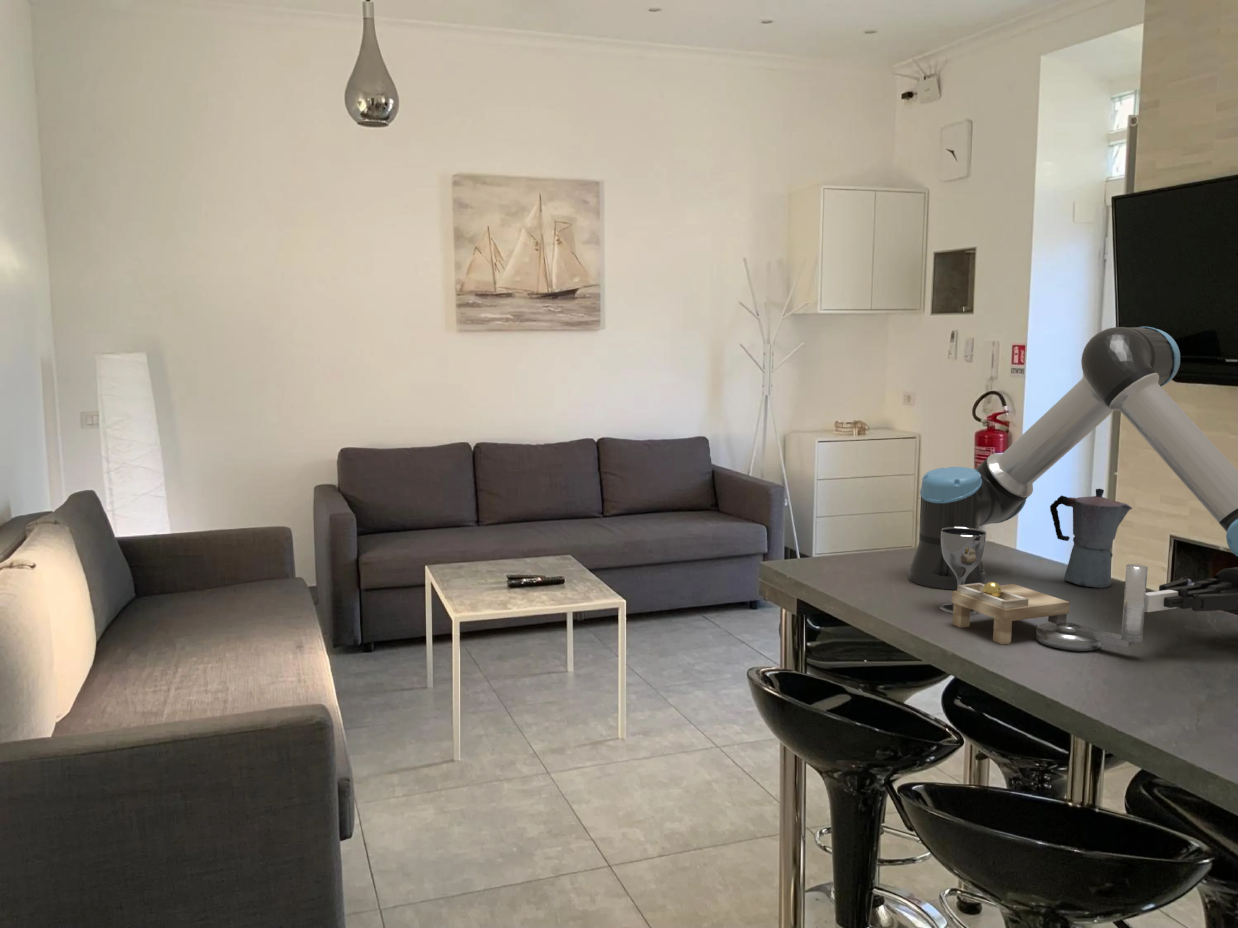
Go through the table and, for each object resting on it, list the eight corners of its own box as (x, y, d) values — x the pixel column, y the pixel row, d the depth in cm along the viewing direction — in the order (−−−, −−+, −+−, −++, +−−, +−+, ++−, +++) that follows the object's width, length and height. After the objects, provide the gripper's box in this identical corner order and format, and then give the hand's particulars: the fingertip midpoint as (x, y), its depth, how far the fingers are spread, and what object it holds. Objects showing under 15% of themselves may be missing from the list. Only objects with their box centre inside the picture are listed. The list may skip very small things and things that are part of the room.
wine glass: (944, 601, 192) (948, 525, 190) (987, 607, 187) (991, 530, 185) (931, 610, 185) (935, 532, 183) (975, 617, 181) (979, 537, 179)
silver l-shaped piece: (1025, 640, 167) (1030, 555, 165) (1052, 628, 173) (1057, 546, 171) (1127, 664, 154) (1134, 573, 153) (1152, 651, 161) (1159, 563, 159)
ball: (978, 597, 172) (979, 580, 172) (992, 595, 173) (993, 579, 173) (991, 601, 169) (992, 584, 169) (1004, 600, 170) (1005, 583, 170)
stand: (950, 623, 177) (952, 584, 176) (1011, 615, 182) (1014, 577, 181) (1003, 645, 165) (1006, 602, 164) (1067, 635, 170) (1070, 594, 169)
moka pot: (1132, 591, 200) (1140, 493, 197) (1051, 586, 203) (1057, 490, 200) (1119, 579, 209) (1125, 486, 206) (1041, 575, 212) (1047, 483, 209)
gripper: (1282, 620, 161) (1179, 637, 153) (1209, 600, 173) (1109, 614, 165) (1287, 575, 160) (1182, 589, 152) (1212, 558, 172) (1112, 570, 164)
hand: (1144, 602), depth 158 cm, fingers closed
